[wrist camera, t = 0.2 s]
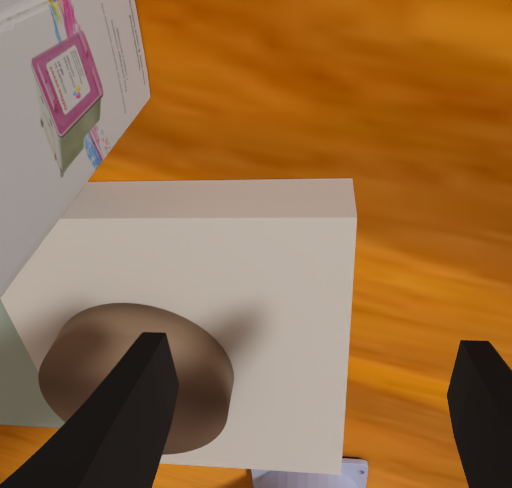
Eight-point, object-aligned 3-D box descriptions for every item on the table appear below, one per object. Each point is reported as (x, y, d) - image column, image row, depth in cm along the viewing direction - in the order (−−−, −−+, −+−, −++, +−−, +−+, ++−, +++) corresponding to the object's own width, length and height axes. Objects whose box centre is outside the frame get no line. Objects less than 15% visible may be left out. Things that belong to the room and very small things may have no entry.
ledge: (339, 428, 30) (341, 474, 28) (100, 416, 32) (83, 458, 30) (352, 178, 20) (356, 217, 17) (-3, 183, 22) (-42, 219, 19)
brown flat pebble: (241, 424, 26) (236, 459, 24) (85, 416, 27) (71, 449, 26) (223, 304, 21) (215, 338, 19) (31, 300, 22) (8, 332, 20)
